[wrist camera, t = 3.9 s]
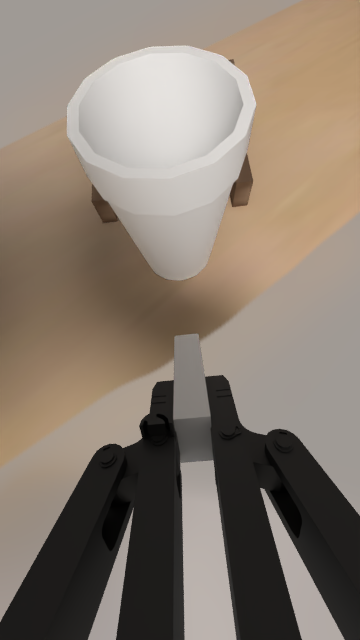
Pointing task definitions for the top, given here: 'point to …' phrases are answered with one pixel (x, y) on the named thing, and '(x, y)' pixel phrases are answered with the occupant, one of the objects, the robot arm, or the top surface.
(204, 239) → the foam cup
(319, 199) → the top surface
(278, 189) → the top surface
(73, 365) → the top surface
